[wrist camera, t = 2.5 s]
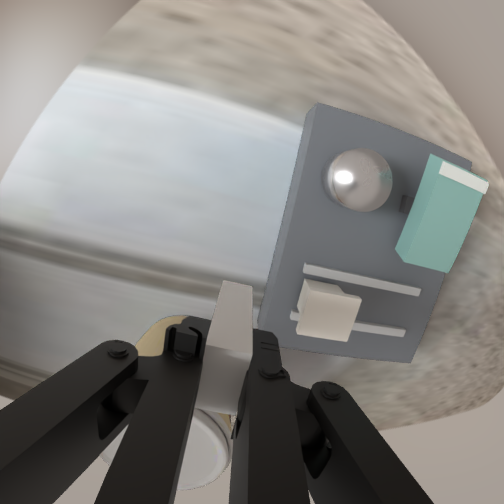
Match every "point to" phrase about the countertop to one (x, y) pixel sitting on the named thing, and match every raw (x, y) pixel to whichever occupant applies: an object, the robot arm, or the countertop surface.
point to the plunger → (357, 179)
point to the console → (353, 243)
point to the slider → (326, 311)
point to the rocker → (440, 215)
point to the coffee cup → (201, 431)
